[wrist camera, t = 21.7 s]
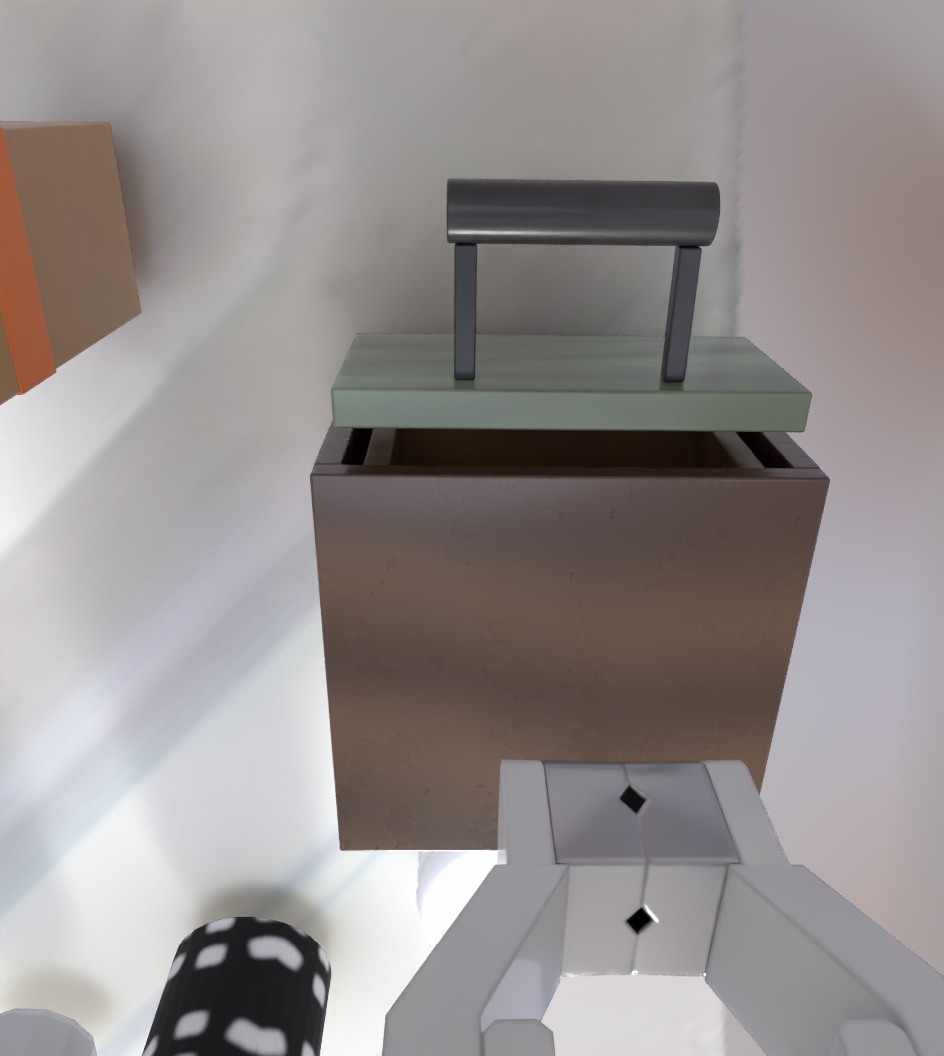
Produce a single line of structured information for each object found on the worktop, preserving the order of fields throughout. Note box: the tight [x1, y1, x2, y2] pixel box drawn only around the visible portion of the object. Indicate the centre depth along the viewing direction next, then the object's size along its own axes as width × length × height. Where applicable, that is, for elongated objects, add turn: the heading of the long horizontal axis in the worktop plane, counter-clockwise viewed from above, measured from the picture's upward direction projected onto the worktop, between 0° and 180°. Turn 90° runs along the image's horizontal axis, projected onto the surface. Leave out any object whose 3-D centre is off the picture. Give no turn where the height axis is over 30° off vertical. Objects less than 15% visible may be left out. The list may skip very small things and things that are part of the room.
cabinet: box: [310, 420, 830, 851], centre depth 30 cm, size 15×15×8 cm
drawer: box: [331, 179, 812, 468], centre depth 28 cm, size 19×13×6 cm
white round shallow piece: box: [417, 851, 498, 944], centre depth 40 cm, size 10×10×4 cm
